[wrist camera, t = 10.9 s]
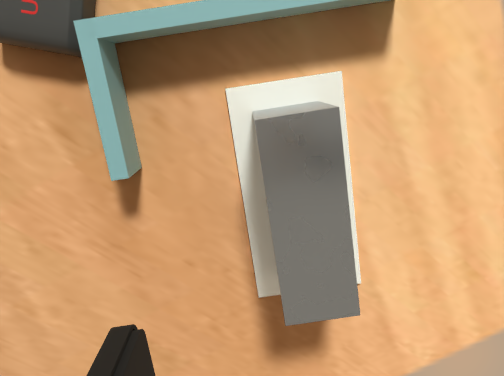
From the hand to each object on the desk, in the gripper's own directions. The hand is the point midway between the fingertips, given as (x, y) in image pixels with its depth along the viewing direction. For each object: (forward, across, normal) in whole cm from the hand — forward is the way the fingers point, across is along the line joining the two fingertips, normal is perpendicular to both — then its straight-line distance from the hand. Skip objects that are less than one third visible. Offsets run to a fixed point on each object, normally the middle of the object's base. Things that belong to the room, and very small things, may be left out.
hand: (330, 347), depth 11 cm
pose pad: (+17, -1, +1) cm, 17 cm away
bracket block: (+17, -1, +1) cm, 17 cm away
